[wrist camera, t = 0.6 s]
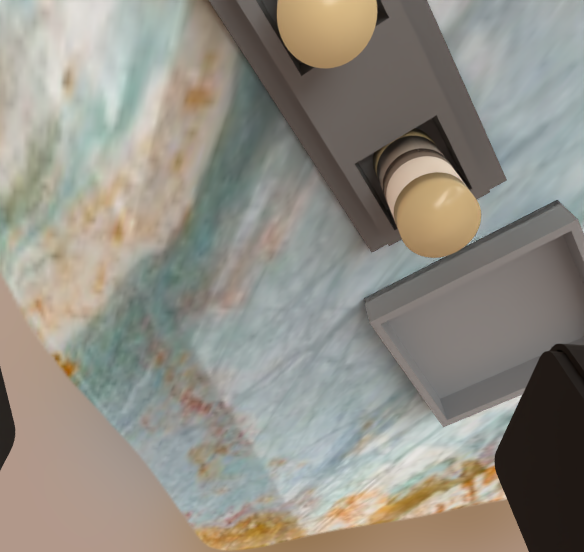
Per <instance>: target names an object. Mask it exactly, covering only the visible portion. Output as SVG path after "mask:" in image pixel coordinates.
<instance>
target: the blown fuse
mask: <svg viewBox="0 0 584 552" xmlns="http://www.w3.org/2000/svg"><path fill="white" fill-rule="evenodd" d="M373 166H374V170H375V173H376V175H377V178H378V180H379V183H380V185H381V188H382V190H383V193H384V196H385V199H386V201H387V204H388V206H389V208H390V210H391V213H392V215H393V218H394V220H395V223H396V225H397V228H398V230H399V233H400V235H401V238H402V240H403V242H404V243H405V245H406V246H407V247H408V248H409V249H410V250H411V251H413V252H414V253H416V254H418V255H421V256H424V257H431V258H436V257H443V256H447V255H450V254H453V253H455V252H457V251H459V250H461V249H462V248H463V247H465V246H466V245H467V244H468V243H469V242H470V241H471V240H472V239H473V237H474V236H475V234H476V232H477V231H478V228H479V225H480V221H481V210H480V206H479V204H478V202H477V200H476V198H475V197H474V196H473V194H472V193H471V192H470V190H469V189H468V188H467V186H466V185H465V183H464V182H463V181H462V179H461V178H460V177H459V175H458V174H457V173H456V171H455V170H454V168H453V167H452V165H451V164H450V163H449V161H448V160H447V159H446V158H445V157H444V155H443V154H442V152H441V151H440V150H439V148H438V147H437V146H436V144H435V143H434V142H433V140H432V139H431V138H430V137H429V135H427V134H426V133H425V132H423V131H422V130H419V129H416V128H414V129H413V130H411V131H409V132H408V133H406V134H404V135H402V136H401V137H399V138H397V139H396V140H394V141H392V142H391V143H389V144H387V145H386V146H384V147H382V148H381V149H379V150H377V151H376V152H374V156H373Z"/></svg>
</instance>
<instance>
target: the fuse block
mask: <svg viewBox="0 0 584 552" xmlns="http://www.w3.org/2000/svg"><path fill="white" fill-rule="evenodd" d="M277 1H278V0H209V2H210V3H211V5H212V6H213V8H214V9H215V11H216V12H217V14H218V16H219V17H220V19H221V20H222V22H223V23H224V25H225V26H226V28H227V29H228V31H229V33H230V34H231V36H232V37H233V39H234V40H235V42H236V43H237V45H238V46H239V48H240V50H241V51H242V53H243V54H244V56H245V57H246V59H247V60H248V62H249V63H250V65H251V67H252V68H253V70H254V71H255V73H256V74H257V76H258V77H259V79H260V80H261V82H262V84H263V85H264V87H265V88H266V90H267V91H268V93H269V94H270V96H271V98H272V99H273V101H274V102H275V104H276V105H277V107H278V108H279V110H280V111H281V113H282V115H283V116H284V118H285V119H286V121H287V122H288V124H289V125H290V127H291V128H292V130H293V132H294V133H295V135H296V136H297V138H298V139H299V141H300V142H301V144H302V145H303V147H304V149H305V150H306V152H307V153H308V155H309V156H310V158H311V159H312V161H313V162H314V164H315V166H316V167H317V169H318V170H319V172H320V173H321V175H322V176H323V178H324V179H325V181H326V183H327V184H328V186H329V187H330V189H331V190H332V192H333V193H334V195H335V196H336V198H337V200H338V201H339V203H340V204H341V206H342V207H343V209H344V210H345V212H346V214H347V215H348V217H349V218H350V220H351V221H352V223H353V224H354V226H355V227H356V229H357V231H358V232H359V234H360V235H361V237H362V238H363V240H364V241H365V243H366V244H367V246H368V248H369V249H370V251H371V252H374V251H376V250H377V249H379V248H381V247H383V246H385V245H387V244H388V245H389V246H390V245H392V244H394V243H396V242H398V241H399V240H401V239H402V238H401V235H400V233H399V230H398V228H397V225H396V223H395V220H394V218H393V215H392V213H391V210H390V208H389V206H388V204H387V201H386V199H385V196H384V193H383V190H382V188H381V185H380V183H379V180H378V178H377V175H376V173H375V170H374V166H373V156H374V152H376V151H377V150H379V149H381V148H382V147H384V146H386V145H387V144H389V143H391V142H392V141H394V140H396V139H397V138H399V137H401V136H402V135H404V134H406V133H408V132H409V131H411V130H413V129H414V128H416V129H419V130H422V131H423V132H425V133H426V134H427V135H429V137H430V138H431V139H432V140H433V142H434V143H435V144H436V146H437V147H438V148H439V150H440V151H441V152H442V154H443V155H444V157H445V158H446V159H447V160H448V161H449V163H450V164H451V165H452V167H453V168H454V170H455V171H456V173H457V174H458V175H459V177H460V178H461V179H462V181H463V182H464V183H465V185H466V186H467V188H468V189H469V190H470V192H471V193H472V194H473V196H474V197H475V198H476V199H478V198H480V197H482V196H484V195H486V194H488V193H489V192H490V191H489V190H490V189H491V188H493V187H495V186H497V185H499V184H501V183H503V182H504V181H506V180H507V179H506V177H505V175H504V173H503V170H502V168H501V166H500V164H499V161H498V159H497V157H496V155H495V152H494V150H493V148H492V146H491V143H490V141H489V139H488V137H487V134H486V132H485V130H484V128H483V126H482V123H481V121H480V119H479V117H478V114H477V112H476V110H475V108H474V105H473V103H472V101H471V99H470V96H469V94H468V92H467V90H466V87H465V85H464V83H463V81H462V78H461V76H460V74H459V72H458V69H457V67H456V65H455V63H454V60H453V58H452V56H451V54H450V51H449V49H448V47H447V45H446V42H445V40H444V38H443V36H442V33H441V31H440V29H439V27H438V24H437V22H436V20H435V18H434V15H433V13H432V11H431V9H430V6H429V4H428V2H427V0H376V1H377V21H376V25H375V29H374V32H373V35H372V37H371V39H370V41H369V42H368V44H367V46H366V47H365V48H364V49H363V51H362V52H361V53H360V54H359V55H358V56H357V57H355V58H354V59H353V60H351V61H350V62H348V63H346V64H344V65H341V66H338V67H334V68H316V67H313V66H309V65H307V64H305V63H303V62H301V61H300V60H298V59H297V58H296V57H295V56H294V55H293V54H292V53H291V52H290V51H289V50H288V48H287V47H286V46H285V44H284V42H283V40H282V38H281V35H280V33H279V28H278V23H277Z"/></svg>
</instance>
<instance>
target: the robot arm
mask: <svg viewBox="0 0 584 552" xmlns="http://www.w3.org/2000/svg"><path fill="white" fill-rule="evenodd" d="M14 438H15V425H14V421H13V417H12V413H11V408H10V404H9V400H8V396H7V392H6V388H5V384H4V380H3V376H2V372H1V368H0V470H1V468H2V466H3V464H4V462H5V460H6V458H7V456H8V455H9V453H10V450H11V448H12V446H13V443H14ZM495 469H496V473H497V475H498V478H499V480H500V483H501V485H502V488H503V490H504V492H505V495H506V497H507V500H508V502H509V504H510V507H511V509H512V512H513V514H514V517H515V519H516V521H517V524H518V526H519V529H520V531H521V533H522V536H523V538H524V540H525V543H526V545H527V548H528V550H529V552H584V345H575V344H561V343H560V344H555V345H554V346H553V347H551V349H550V351H545V352H544V353H542V355H541V356H540V358H539V360H538V362H537V364H536V367H535V369H534V371H533V373H532V375H531V377H530V380H529V382H528V384H527V386H526V388H525V390H524V392H523V395H522V397H521V399H520V401H519V403H518V405H517V408H516V410H515V412H514V414H513V416H512V418H511V421H510V423H509V425H508V427H507V429H506V431H505V433H504V436H503V438H502V440H501V442H500V444H499V446H498V449H497V451H496V454H495Z"/></svg>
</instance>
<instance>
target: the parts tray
mask: <svg viewBox="0 0 584 552" xmlns="http://www.w3.org/2000/svg"><path fill="white" fill-rule="evenodd" d="M364 302H365V306H366V311H367V315H368V320H369V323H370V324H371V326H372V327H373V329H374V330H375V331H376V333H377V334H378V336H379V337H380V338H381V340H382V341H383V343H384V344H385V346H386V347H387V348H388V350H389V351H390V353H391V354H392V355H393V357H394V358H395V360H396V361H397V362H398V364H399V365H400V367H401V368H402V370H403V371H404V372H405V374H406V375H407V377H408V378H409V379H410V381H411V382H412V384H413V385H414V386H415V388H416V389H417V391H418V392H419V393H420V395H421V396H422V398H423V399H424V401H425V402H426V403H427V405H428V406H429V408H430V409H431V410H432V412H433V413H434V415H435V416H436V417H437V419H438V420H439V422H440V423H441V424H442V426H443V427H445V426H447V425H450V424H452V423H454V422H457V421H459V420H462V419H464V418H466V417H469V416H471V415H474V414H476V413H479V412H481V411H483V410H486V409H488V408H491V407H493V406H495V405H498V404H500V403H503V402H505V401H508V400H510V399H512V398H515V397H517V396H520V395H522V394H523V392H524V390H525V388H526V386H527V384H528V382H529V380H530V377H531V375H532V373H533V371H534V369H535V367H536V364H537V362H538V360H539V358H540V356H541V355H542V353H544V352H545V351H550V349H551V347H553V346H554V345H555V344H560V343H561V344H575V345H584V234H583V231H582V229H581V226H580V224H579V221H578V219H577V218H576V217H575V216H574V215H573V214H572V213H571V212H570V211H569V210H568V209H566V208H565V207H564V206H563V205H562V204H561V203H560V202H559V201H558V200H556V201H554V202H552V203H550V204H548V205H546V206H544V207H542V208H540V209H538V210H537V211H535V212H533V213H531V214H529V215H527V216H525V217H523V218H521V219H519V220H517V221H515V222H513V223H511V224H509V225H507V226H505V227H503V228H501V229H499V230H497V231H495V232H493V233H491V234H489V235H488V236H486V237H484V238H482V239H480V240H478V241H476V242H474V243H472V244H470V245H468V246H466V247H464V248H462V249H461V250H459V251H457V252H455V253H453V254H450V255H448V256H446V257H444V258H442V259H441V260H439V261H437V262H435V263H433V264H431V265H429V266H427V267H425V268H423V269H421V270H419V271H417V272H415V273H413V274H411V275H409V276H407V277H405V278H403V279H401V280H399V281H397V282H395V283H393V284H392V285H390V286H388V287H386V288H384V289H382V290H380V291H378V292H376V293H374V294H372V295H370V296H368V297H366V298H364Z"/></svg>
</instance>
